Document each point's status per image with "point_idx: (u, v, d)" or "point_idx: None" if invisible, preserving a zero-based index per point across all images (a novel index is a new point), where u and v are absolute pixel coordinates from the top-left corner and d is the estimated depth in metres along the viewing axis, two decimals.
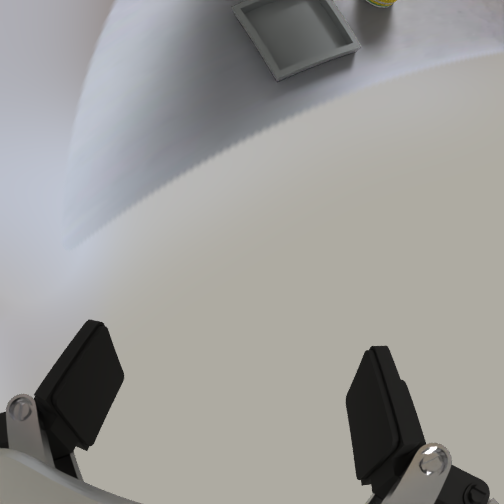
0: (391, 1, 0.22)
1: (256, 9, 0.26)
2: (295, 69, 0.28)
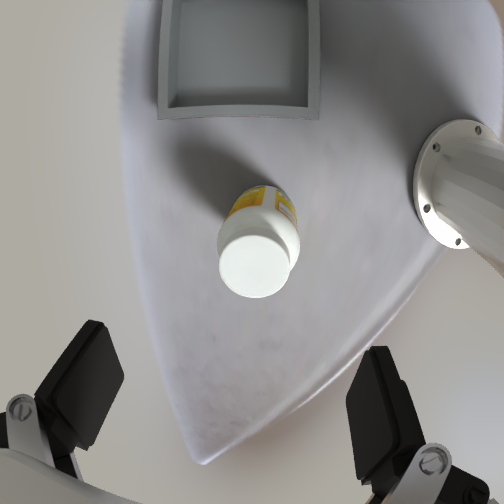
0: None
1: (303, 17, 0.16)
2: (163, 12, 0.15)
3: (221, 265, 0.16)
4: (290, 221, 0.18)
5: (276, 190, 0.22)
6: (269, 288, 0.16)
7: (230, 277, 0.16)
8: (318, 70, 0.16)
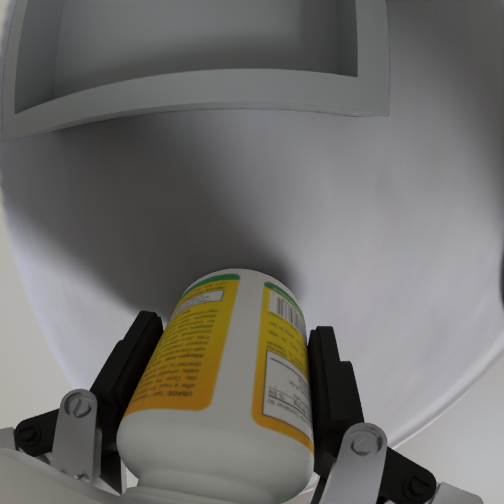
0: None
1: None
2: None
3: None
4: (294, 442, 0.05)
5: (264, 288, 0.10)
6: None
7: None
8: None
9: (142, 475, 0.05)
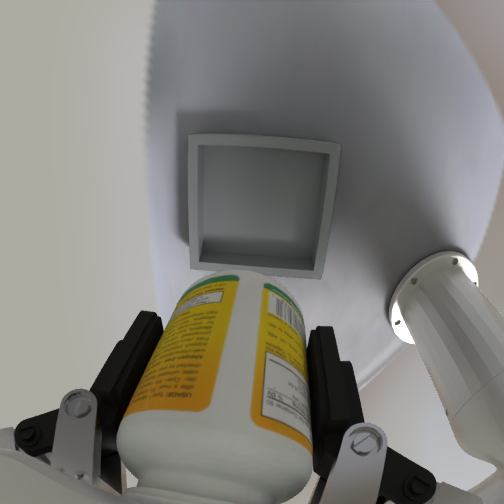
0: None
1: (320, 173, 0.23)
2: (189, 165, 0.21)
3: None
4: (293, 443, 0.05)
5: (263, 290, 0.10)
6: None
7: None
8: (326, 241, 0.23)
9: (142, 475, 0.05)
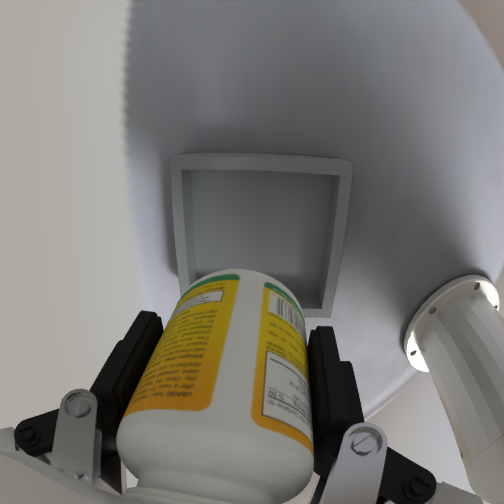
0: None
1: (328, 196, 0.20)
2: (173, 194, 0.18)
3: None
4: (294, 442, 0.05)
5: (264, 289, 0.10)
6: None
7: None
8: (336, 277, 0.20)
9: (142, 475, 0.05)
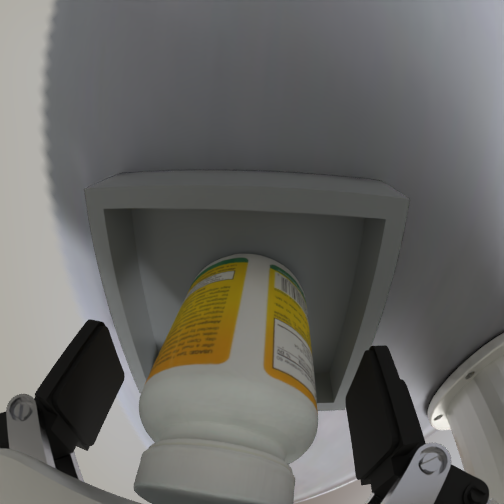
0: None
1: (356, 245, 0.12)
2: (96, 248, 0.10)
3: (141, 496, 0.05)
4: (301, 394, 0.06)
5: (270, 270, 0.11)
6: None
7: None
8: None
9: (164, 432, 0.06)
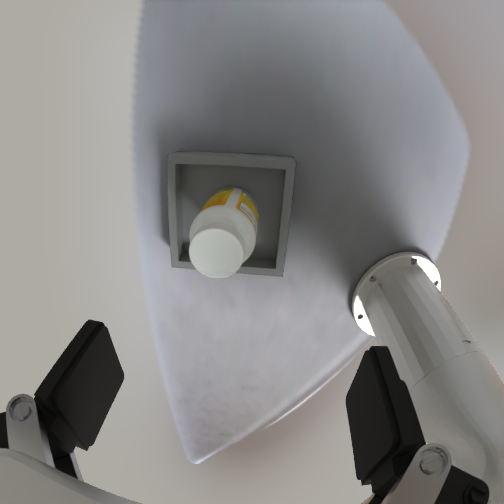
0: None
1: (280, 185, 0.27)
2: (168, 181, 0.25)
3: (190, 251, 0.20)
4: (247, 218, 0.22)
5: (241, 191, 0.26)
6: (228, 270, 0.21)
7: (198, 261, 0.21)
8: (285, 243, 0.28)
9: None
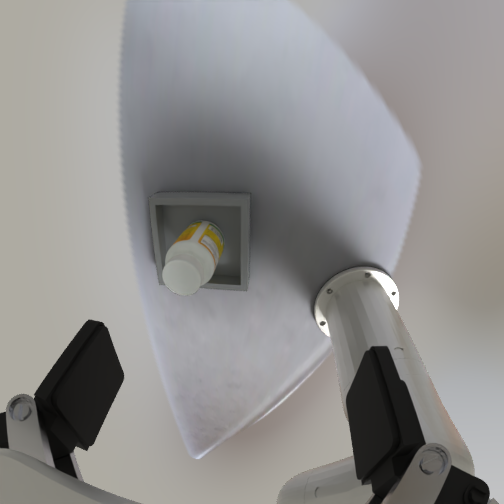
0: None
1: (241, 216, 0.34)
2: (151, 218, 0.32)
3: (163, 276, 0.27)
4: (206, 249, 0.29)
5: (208, 224, 0.33)
6: (191, 290, 0.27)
7: (169, 283, 0.27)
8: (246, 265, 0.34)
9: None
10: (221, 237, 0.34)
